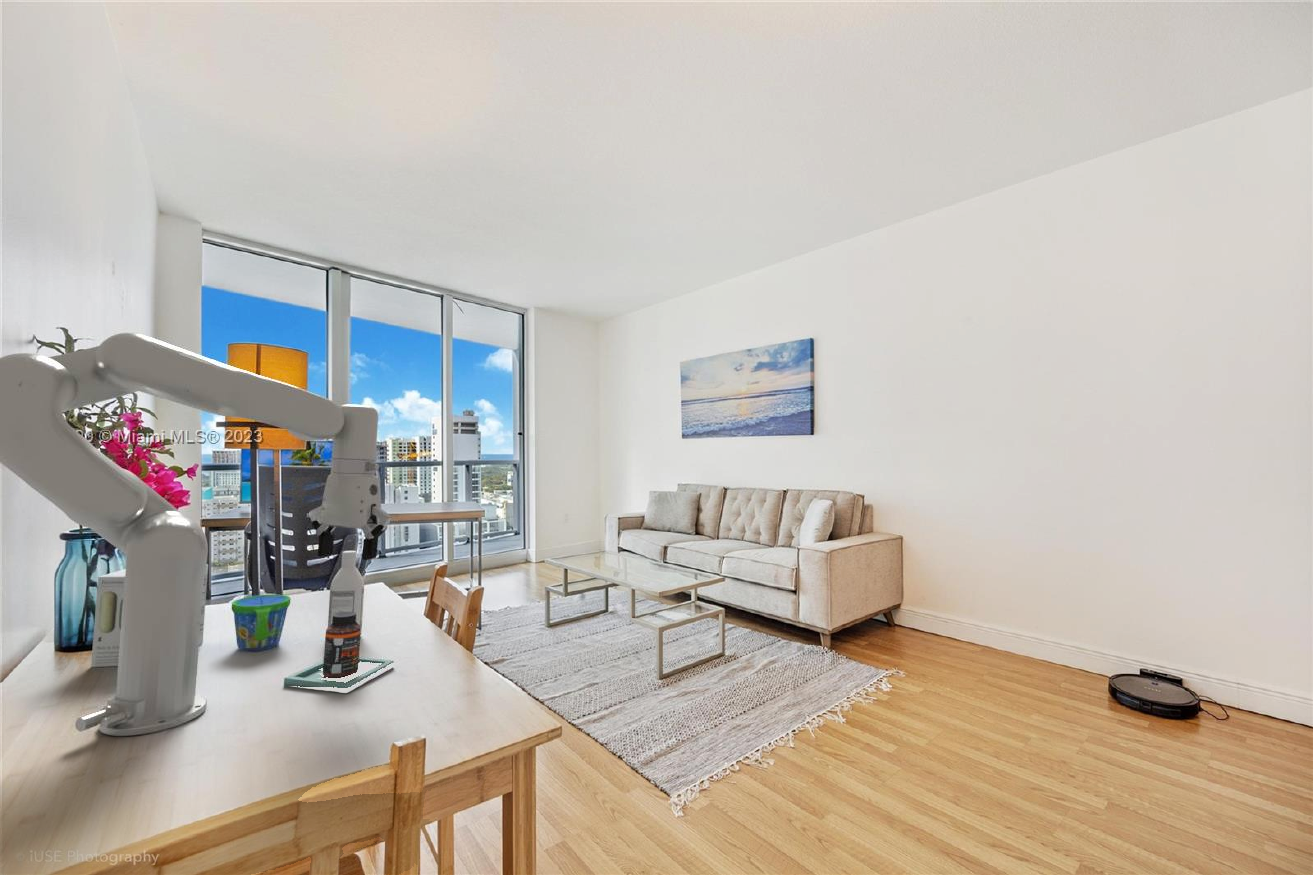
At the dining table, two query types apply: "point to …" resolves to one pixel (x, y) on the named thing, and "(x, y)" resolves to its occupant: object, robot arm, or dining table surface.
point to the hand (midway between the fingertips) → (347, 557)
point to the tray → (310, 677)
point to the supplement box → (117, 618)
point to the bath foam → (347, 589)
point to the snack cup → (259, 621)
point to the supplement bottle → (342, 646)
